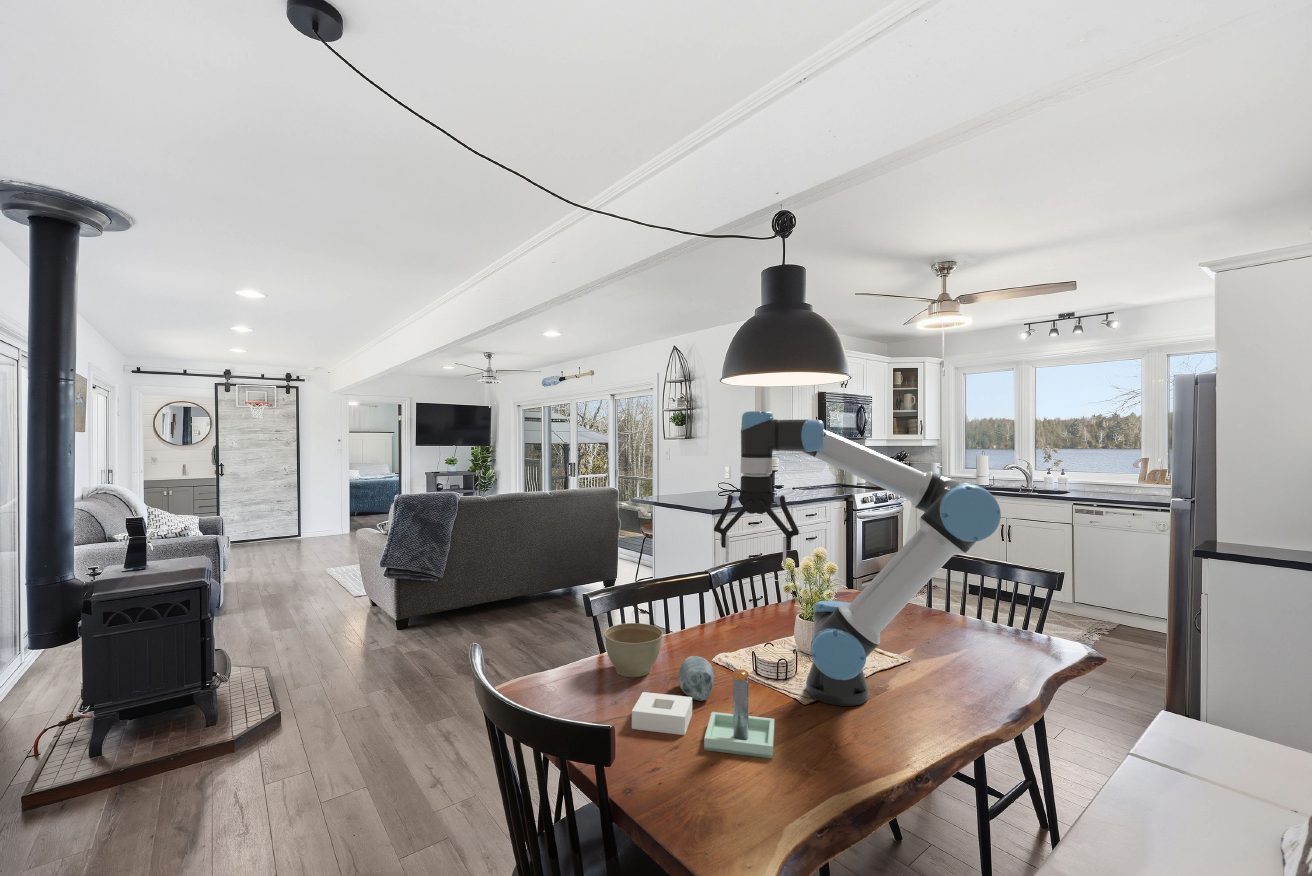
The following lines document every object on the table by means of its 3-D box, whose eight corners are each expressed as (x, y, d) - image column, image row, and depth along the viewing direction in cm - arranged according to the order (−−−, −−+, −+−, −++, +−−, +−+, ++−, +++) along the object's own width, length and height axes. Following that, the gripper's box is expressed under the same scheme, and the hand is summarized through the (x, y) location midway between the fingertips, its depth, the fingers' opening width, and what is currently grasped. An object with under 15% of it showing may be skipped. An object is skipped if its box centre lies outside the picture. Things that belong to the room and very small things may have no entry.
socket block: (692, 714, 139) (692, 697, 139) (684, 735, 129) (684, 717, 129) (642, 708, 142) (642, 691, 142) (631, 728, 132) (631, 710, 132)
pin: (748, 733, 129) (748, 670, 128) (748, 741, 126) (747, 676, 125) (734, 732, 129) (733, 668, 129) (732, 740, 126) (732, 675, 126)
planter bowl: (593, 677, 159) (593, 637, 159) (619, 657, 174) (619, 620, 174) (648, 687, 153) (649, 645, 153) (670, 665, 168) (671, 627, 168)
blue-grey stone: (722, 693, 143) (703, 653, 146) (686, 710, 143) (668, 670, 146) (722, 683, 156) (705, 647, 159) (690, 700, 156) (673, 663, 159)
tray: (774, 730, 132) (774, 718, 132) (772, 758, 120) (772, 746, 120) (711, 722, 135) (711, 711, 135) (704, 750, 123) (704, 738, 123)
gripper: (809, 475, 144) (808, 562, 144) (707, 473, 150) (706, 556, 150) (810, 477, 137) (809, 569, 137) (703, 474, 142) (702, 563, 143)
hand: (755, 562), depth 143 cm, fingers open, 13 cm apart
